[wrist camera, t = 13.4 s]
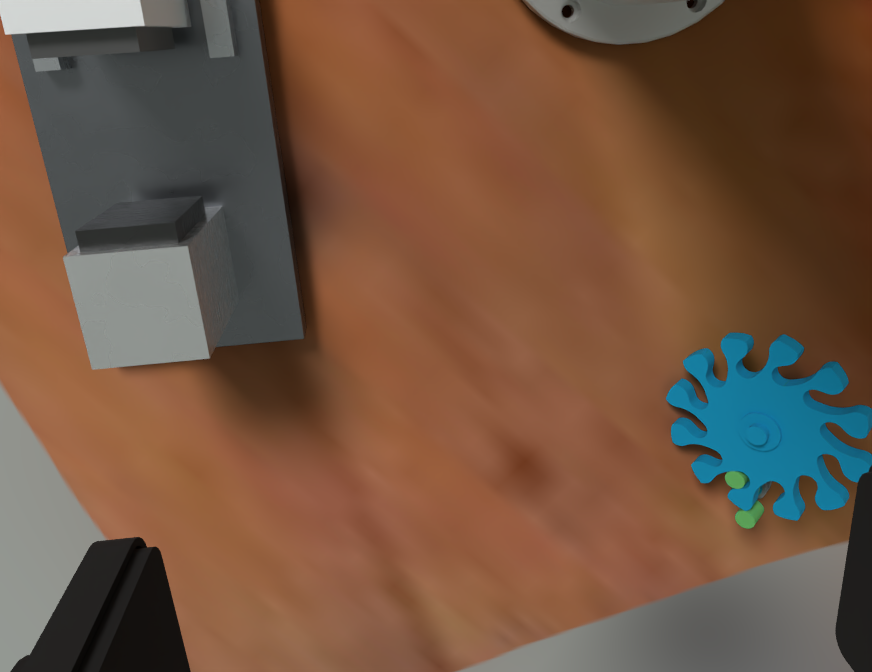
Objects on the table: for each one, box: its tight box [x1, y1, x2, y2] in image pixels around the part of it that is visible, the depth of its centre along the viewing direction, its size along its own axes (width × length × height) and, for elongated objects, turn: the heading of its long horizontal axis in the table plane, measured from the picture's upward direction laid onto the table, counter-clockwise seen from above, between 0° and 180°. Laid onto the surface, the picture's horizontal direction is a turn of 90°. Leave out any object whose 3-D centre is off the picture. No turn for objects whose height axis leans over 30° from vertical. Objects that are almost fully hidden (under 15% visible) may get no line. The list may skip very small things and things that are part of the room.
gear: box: [666, 333, 872, 529], centre depth 40 cm, size 11×6×10 cm
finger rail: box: [11, 0, 307, 370], centre depth 31 cm, size 10×21×8 cm, turn 4°
